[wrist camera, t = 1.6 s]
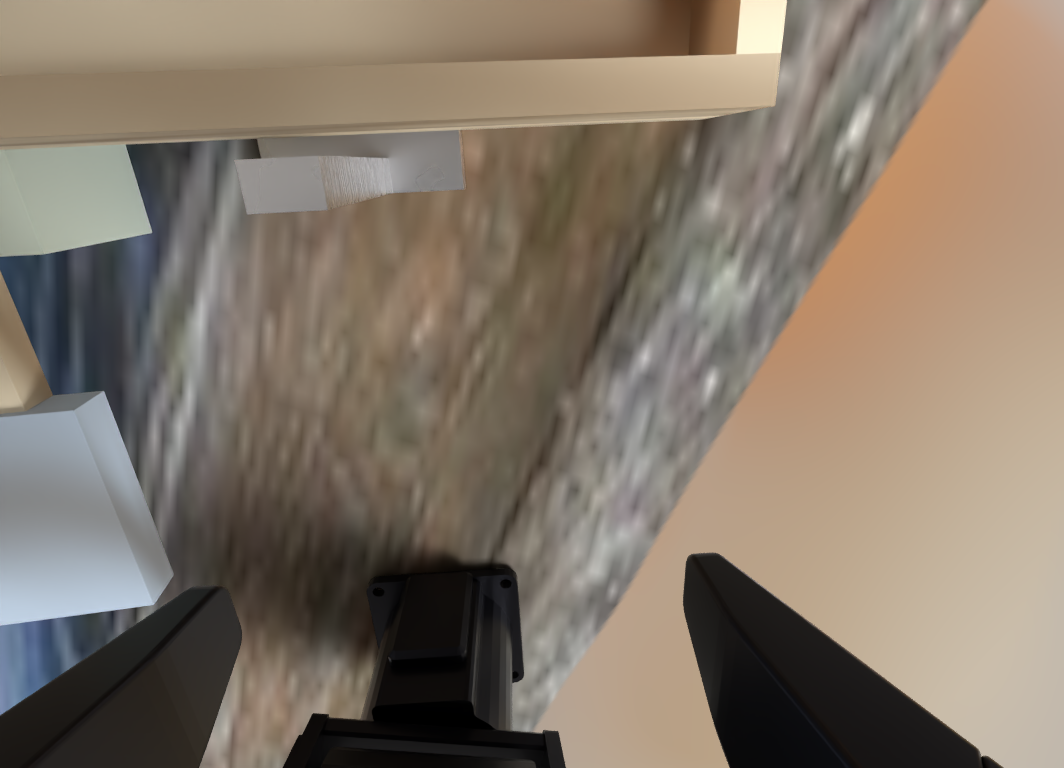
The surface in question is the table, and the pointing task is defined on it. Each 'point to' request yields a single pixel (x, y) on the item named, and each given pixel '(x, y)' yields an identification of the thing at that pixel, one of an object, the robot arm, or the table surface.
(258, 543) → the table surface
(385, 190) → the pivot stand
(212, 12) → the lever
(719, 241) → the table surface
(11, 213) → the bin
